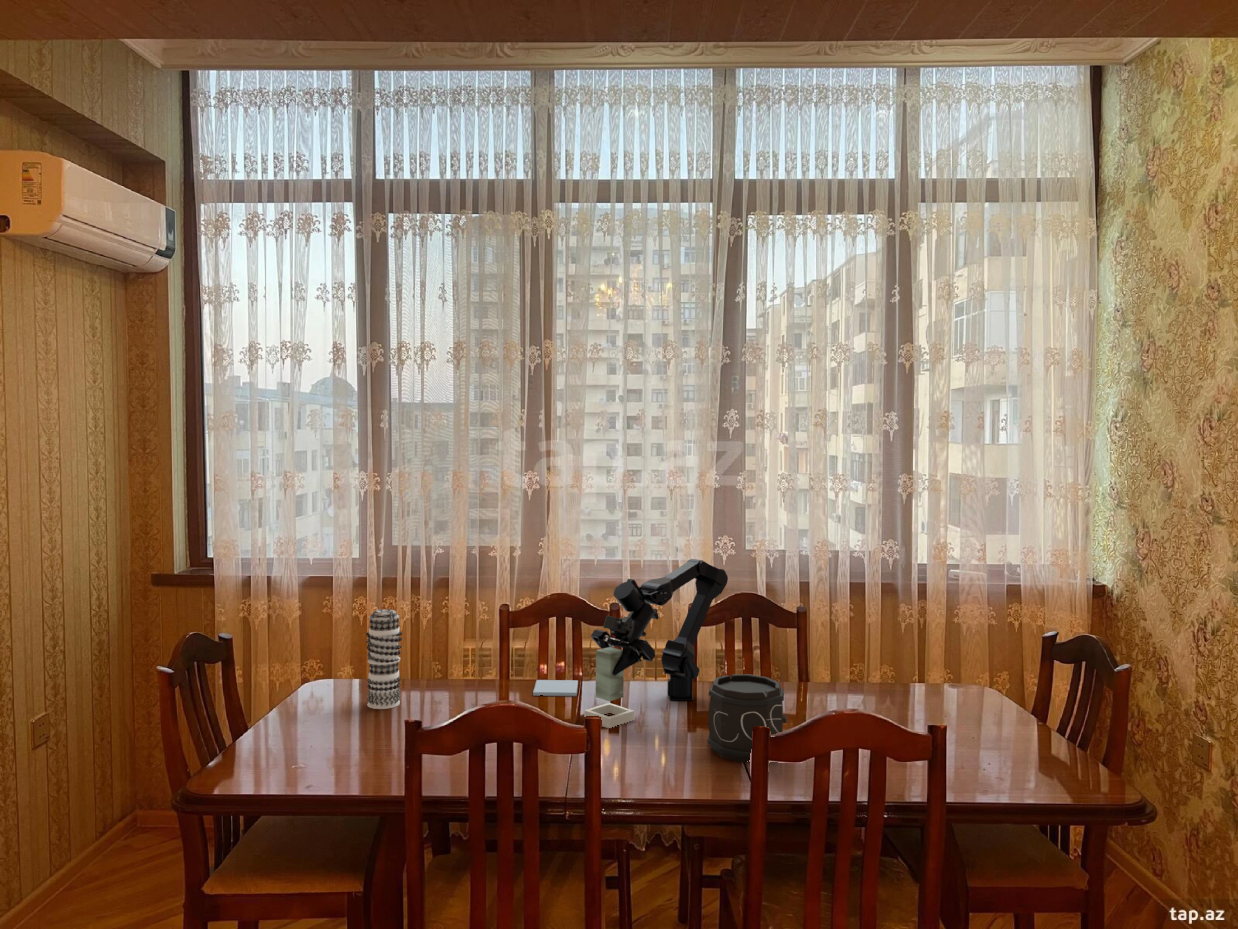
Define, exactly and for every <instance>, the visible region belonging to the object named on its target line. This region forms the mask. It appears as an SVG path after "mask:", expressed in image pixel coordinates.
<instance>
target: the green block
mask: <svg viewBox="0 0 1238 929" xmlns="http://www.w3.org/2000/svg"><path fill="white" fill-rule="evenodd" d="M622 651H623V649H620V648H616V647H614V648H612V647H608V648H603V649H601V648H599V649H596V650H595V698H598V699H601V700H604V701H606V702H612V701H616V700H618V699H622V698H624V682H625V681H624V676H625V675H624V673H625V670H623V671H621V672H620V673H618V674H617V675H613V674H612V672H613V670H614V667H615V666H616V664H617V662H618V660H619V659H620V657H621V655H622Z"/></svg>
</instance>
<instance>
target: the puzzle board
mask: <svg viewBox="0 0 1238 929" xmlns="http://www.w3.org/2000/svg"><path fill="white" fill-rule="evenodd" d="M607 713H612V714H615V715H610V716H608V714H607ZM604 714H607V715H604ZM583 715H584V716H583V717H586V716H599V717H601V720H602V726H601V727H603V728H607V729H609V728H610V729H612V727H613V728H615V726H616V727H618V726H617V725H619V726H621V725H620V724H622V725H625V724H627V722H628V721H631V722H633V721H632V720H634V721H635V710H632V709H630V708H627V707H623V706H620V705H618V704H614V703H611V702H607V703H604V704H600V705H597V706H594V707H591V708H587V709H584V711H583ZM624 723H625V724H624ZM628 723H629V722H628Z"/></svg>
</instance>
